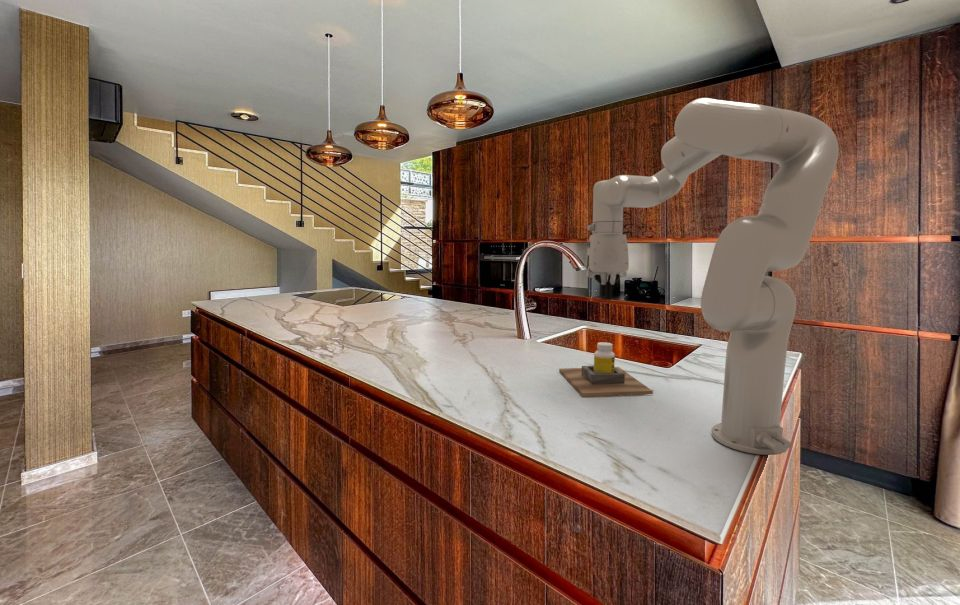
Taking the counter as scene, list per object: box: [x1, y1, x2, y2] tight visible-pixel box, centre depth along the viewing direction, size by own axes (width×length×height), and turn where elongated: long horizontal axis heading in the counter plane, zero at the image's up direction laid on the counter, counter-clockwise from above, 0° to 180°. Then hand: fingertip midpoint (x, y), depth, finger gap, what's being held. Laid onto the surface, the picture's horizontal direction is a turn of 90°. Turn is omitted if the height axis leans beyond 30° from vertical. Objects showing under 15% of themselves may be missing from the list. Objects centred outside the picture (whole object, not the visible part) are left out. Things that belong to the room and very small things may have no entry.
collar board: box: [558, 365, 654, 398], centre depth 122 cm, size 22×18×4 cm
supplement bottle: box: [593, 341, 616, 374], centre depth 122 cm, size 5×5×10 cm
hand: (605, 299), depth 119 cm, fingers closed
